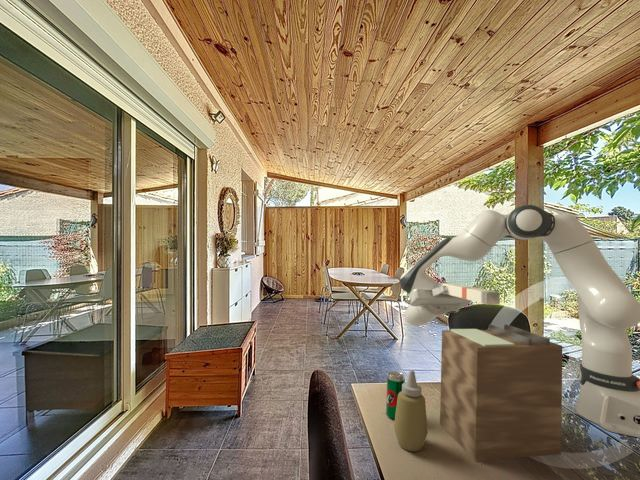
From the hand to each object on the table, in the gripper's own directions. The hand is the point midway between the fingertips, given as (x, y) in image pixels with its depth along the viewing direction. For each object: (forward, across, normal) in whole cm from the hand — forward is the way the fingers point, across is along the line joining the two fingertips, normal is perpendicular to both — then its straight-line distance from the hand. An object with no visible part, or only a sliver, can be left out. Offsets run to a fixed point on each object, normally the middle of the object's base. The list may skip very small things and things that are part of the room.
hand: (452, 287), depth 93 cm
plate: (+5, 0, +16) cm, 17 cm away
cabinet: (-8, +5, +39) cm, 40 cm away
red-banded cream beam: (+4, 0, +5) cm, 7 cm away
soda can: (-18, -18, +33) cm, 41 cm away
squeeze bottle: (-7, -19, +39) cm, 44 cm away
